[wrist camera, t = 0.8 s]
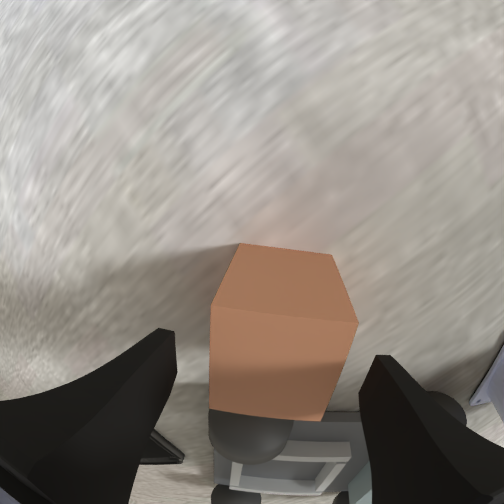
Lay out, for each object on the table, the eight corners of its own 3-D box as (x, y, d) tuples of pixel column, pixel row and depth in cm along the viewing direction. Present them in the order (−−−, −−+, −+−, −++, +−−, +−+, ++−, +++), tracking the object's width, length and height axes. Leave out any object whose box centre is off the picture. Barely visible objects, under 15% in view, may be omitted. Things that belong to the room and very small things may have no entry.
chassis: (452, 389, 16) (475, 434, 11) (370, 487, 22) (374, 520, 18) (217, 380, 17) (199, 441, 13) (215, 481, 24) (207, 517, 19)
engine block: (331, 254, 14) (358, 323, 8) (312, 337, 15) (320, 421, 10) (240, 242, 14) (210, 304, 8) (233, 327, 16) (209, 408, 10)
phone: (187, 463, 21) (103, 462, 25) (190, 454, 22) (106, 456, 26) (129, 416, 19) (58, 424, 23) (134, 407, 20) (62, 418, 24)
